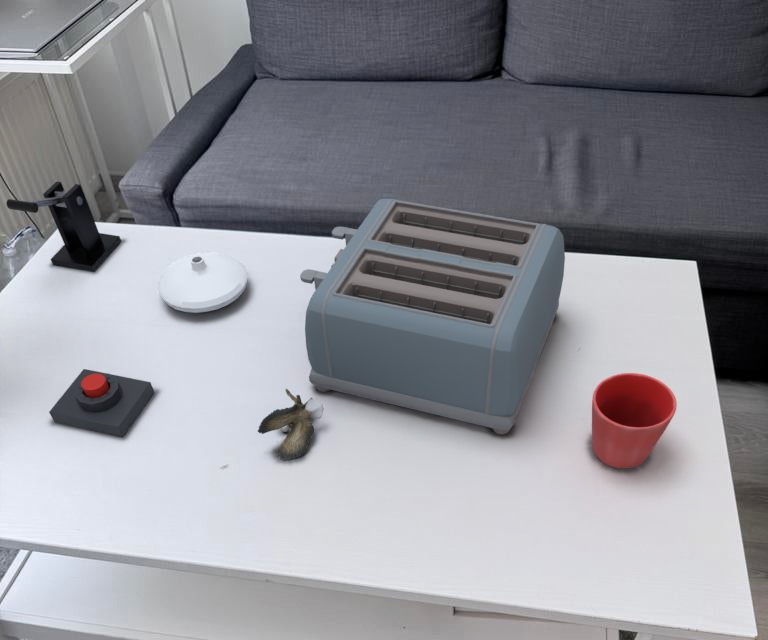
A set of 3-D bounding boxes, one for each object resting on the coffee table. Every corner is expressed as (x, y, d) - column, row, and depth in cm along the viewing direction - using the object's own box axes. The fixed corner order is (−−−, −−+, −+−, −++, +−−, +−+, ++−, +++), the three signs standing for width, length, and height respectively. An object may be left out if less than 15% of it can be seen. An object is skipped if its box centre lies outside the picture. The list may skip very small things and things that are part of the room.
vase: (151, 284, 135) (139, 250, 129) (233, 258, 139) (225, 223, 133) (177, 333, 126) (165, 299, 120) (264, 304, 130) (256, 269, 124)
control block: (54, 422, 114) (43, 403, 111) (88, 379, 120) (79, 359, 117) (123, 437, 112) (114, 418, 109) (154, 392, 117) (147, 373, 114)
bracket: (94, 271, 138) (68, 207, 128) (52, 264, 140) (23, 201, 130) (121, 241, 144) (98, 177, 133) (81, 235, 146) (55, 171, 135)
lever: (33, 216, 123) (30, 200, 122) (7, 212, 124) (5, 196, 123) (83, 206, 134) (81, 192, 133) (59, 203, 135) (57, 189, 134)
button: (80, 396, 112) (76, 387, 111) (93, 380, 114) (89, 371, 113) (101, 400, 112) (97, 391, 110) (113, 384, 114) (109, 375, 112)
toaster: (361, 274, 134) (354, 181, 120) (559, 312, 125) (576, 217, 111) (288, 386, 117) (270, 294, 103) (511, 440, 108) (524, 347, 94)
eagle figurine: (274, 404, 113) (247, 438, 107) (295, 375, 108) (268, 408, 102) (314, 435, 114) (290, 470, 108) (337, 408, 109) (313, 443, 103)
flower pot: (567, 433, 108) (578, 383, 101) (635, 414, 110) (651, 364, 102) (602, 486, 102) (616, 437, 95) (673, 465, 104) (693, 415, 96)
